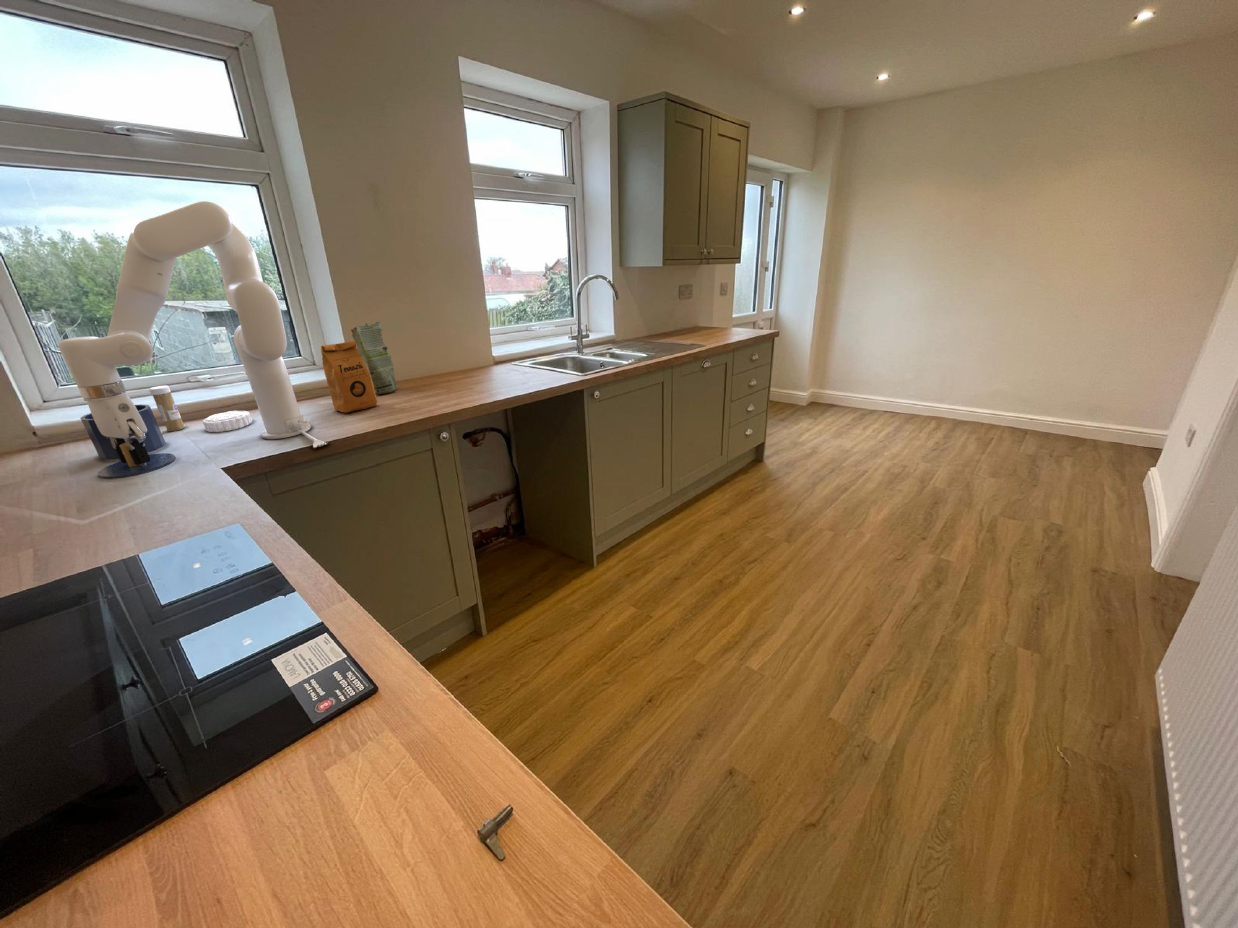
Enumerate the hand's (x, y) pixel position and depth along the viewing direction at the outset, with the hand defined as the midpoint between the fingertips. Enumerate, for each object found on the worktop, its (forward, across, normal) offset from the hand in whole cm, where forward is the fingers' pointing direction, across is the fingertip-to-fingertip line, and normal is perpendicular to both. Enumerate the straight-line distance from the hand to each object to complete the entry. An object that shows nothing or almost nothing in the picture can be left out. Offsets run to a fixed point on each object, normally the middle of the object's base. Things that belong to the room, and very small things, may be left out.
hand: (136, 461), depth 125 cm
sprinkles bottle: (+2, +26, -25) cm, 36 cm away
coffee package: (+2, -17, -54) cm, 57 cm away
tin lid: (+1, 0, 0) cm, 1 cm away
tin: (+2, +16, -8) cm, 18 cm away
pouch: (+2, -9, -75) cm, 76 cm away
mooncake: (+2, +11, -31) cm, 33 cm away
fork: (+2, -29, -26) cm, 39 cm away
